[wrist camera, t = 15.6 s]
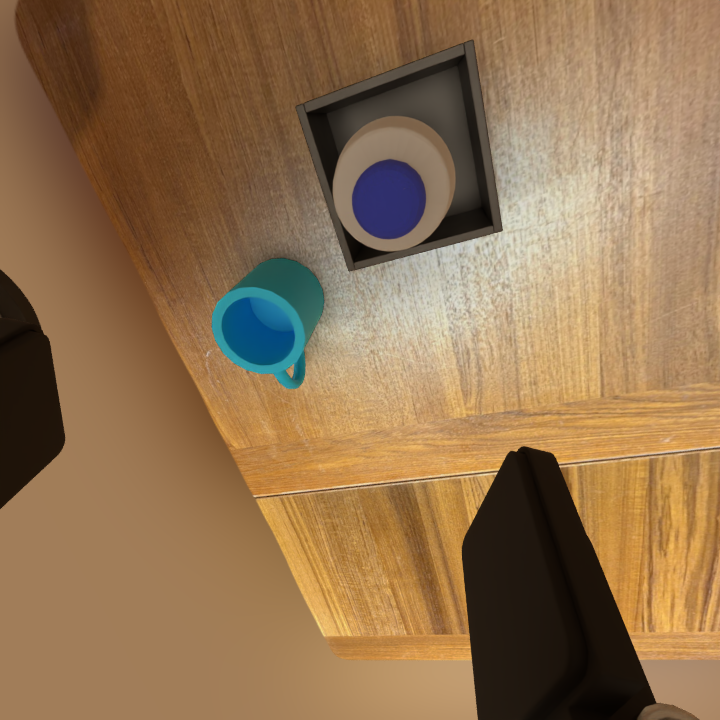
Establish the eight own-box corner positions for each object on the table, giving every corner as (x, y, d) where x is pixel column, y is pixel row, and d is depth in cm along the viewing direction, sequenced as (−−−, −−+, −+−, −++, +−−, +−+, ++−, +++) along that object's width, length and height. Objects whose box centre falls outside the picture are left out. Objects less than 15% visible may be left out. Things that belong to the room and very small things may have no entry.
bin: (360, 246, 41) (348, 272, 34) (318, 107, 36) (294, 106, 29) (489, 210, 38) (503, 231, 31) (463, 54, 33) (473, 38, 26)
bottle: (458, 133, 35) (493, 151, 17) (426, 215, 38) (427, 300, 21) (379, 102, 34) (333, 89, 17) (353, 188, 38) (292, 250, 20)
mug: (233, 267, 43) (196, 297, 36) (310, 249, 41) (287, 277, 34) (273, 370, 49) (248, 414, 42) (343, 359, 47) (329, 402, 40)
